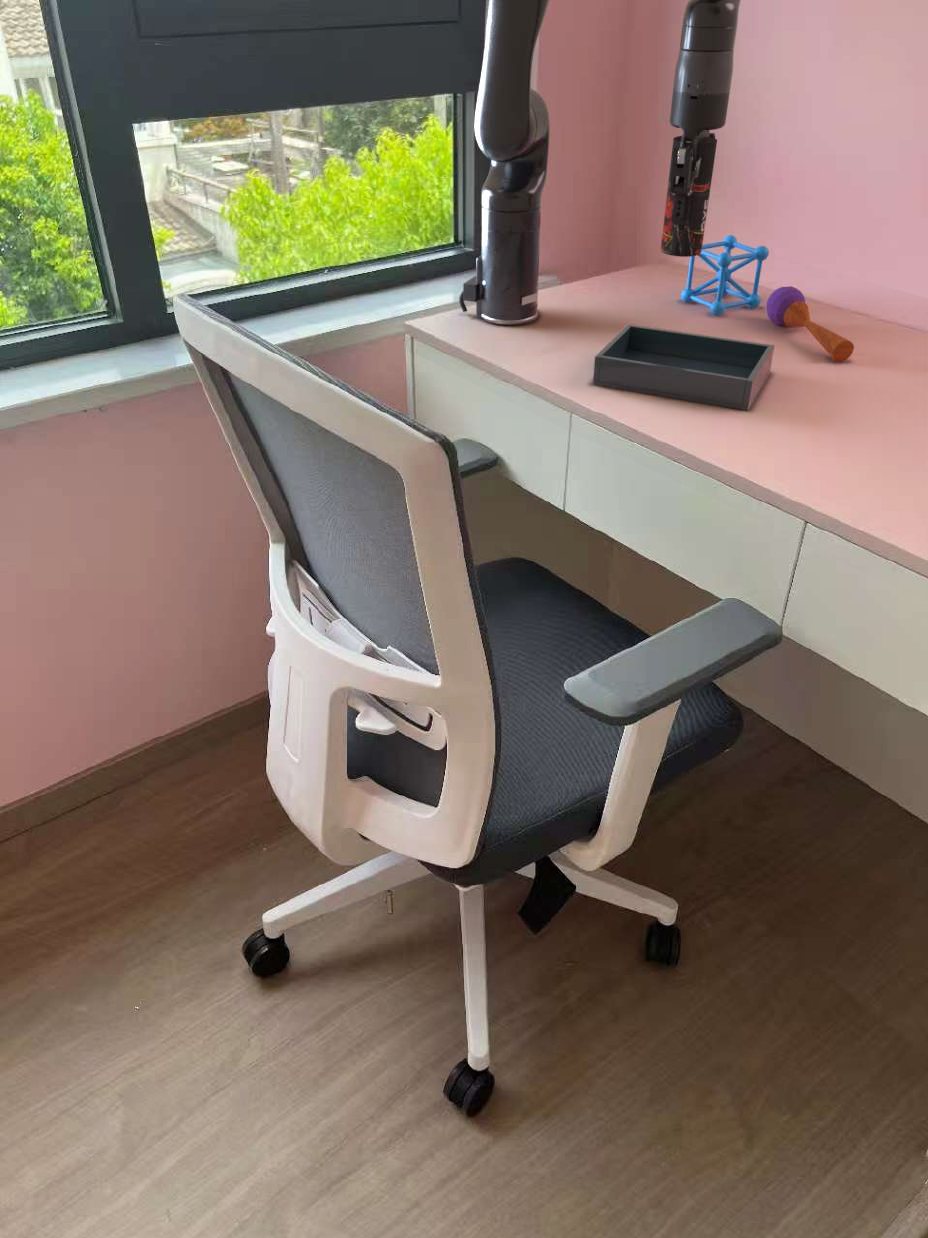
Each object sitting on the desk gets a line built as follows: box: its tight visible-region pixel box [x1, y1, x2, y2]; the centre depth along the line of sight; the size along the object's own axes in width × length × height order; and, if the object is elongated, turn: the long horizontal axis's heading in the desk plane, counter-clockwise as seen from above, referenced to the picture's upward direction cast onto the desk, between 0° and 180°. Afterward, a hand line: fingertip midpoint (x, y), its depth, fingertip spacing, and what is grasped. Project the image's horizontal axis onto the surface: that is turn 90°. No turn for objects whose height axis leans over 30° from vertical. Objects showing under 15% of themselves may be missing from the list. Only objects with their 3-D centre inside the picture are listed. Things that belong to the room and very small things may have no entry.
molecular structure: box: [680, 234, 770, 316], centre depth 163 cm, size 10×10×10 cm
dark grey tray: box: [592, 324, 776, 411], centre depth 138 cm, size 22×15×4 cm
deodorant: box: [660, 135, 718, 258], centre depth 140 cm, size 6×6×15 cm
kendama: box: [765, 285, 855, 363], centre depth 150 cm, size 6×6×20 cm
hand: (685, 217), depth 142 cm, fingers closed on deodorant, 6 cm apart
